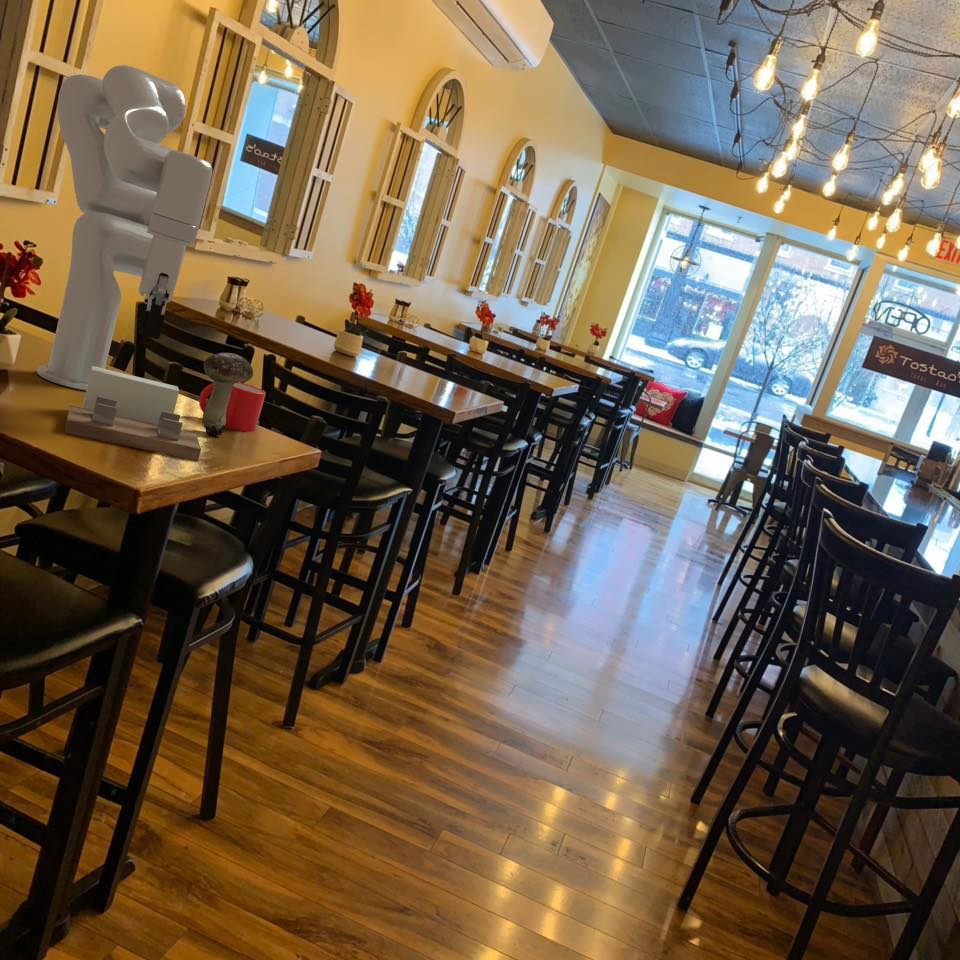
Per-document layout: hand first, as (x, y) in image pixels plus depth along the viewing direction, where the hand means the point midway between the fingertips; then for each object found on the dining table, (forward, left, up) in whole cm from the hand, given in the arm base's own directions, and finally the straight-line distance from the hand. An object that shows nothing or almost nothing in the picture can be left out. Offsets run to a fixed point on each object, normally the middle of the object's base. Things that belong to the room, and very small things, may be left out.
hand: (147, 332), depth 155 cm
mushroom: (-6, +15, -16) cm, 23 cm away
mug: (-18, +19, -16) cm, 31 cm away
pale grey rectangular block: (0, 0, -16) cm, 16 cm away
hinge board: (+10, +1, -16) cm, 19 cm away
